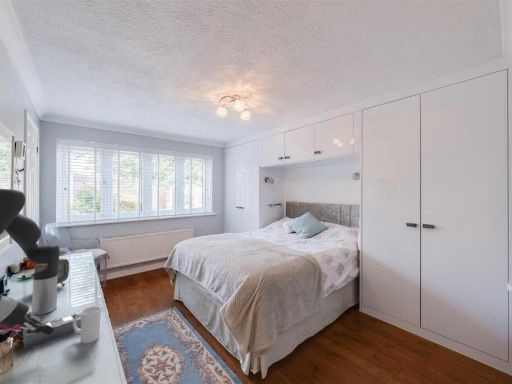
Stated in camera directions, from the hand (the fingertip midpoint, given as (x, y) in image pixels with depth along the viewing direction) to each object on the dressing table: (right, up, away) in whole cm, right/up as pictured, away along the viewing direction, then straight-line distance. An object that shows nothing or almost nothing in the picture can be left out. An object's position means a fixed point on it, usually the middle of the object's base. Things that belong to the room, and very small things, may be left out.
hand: (51, 331), depth 88 cm
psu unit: (-8, -8, +11) cm, 15 cm away
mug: (+7, -8, +8) cm, 14 cm away
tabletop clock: (-48, -7, +54) cm, 72 cm away
